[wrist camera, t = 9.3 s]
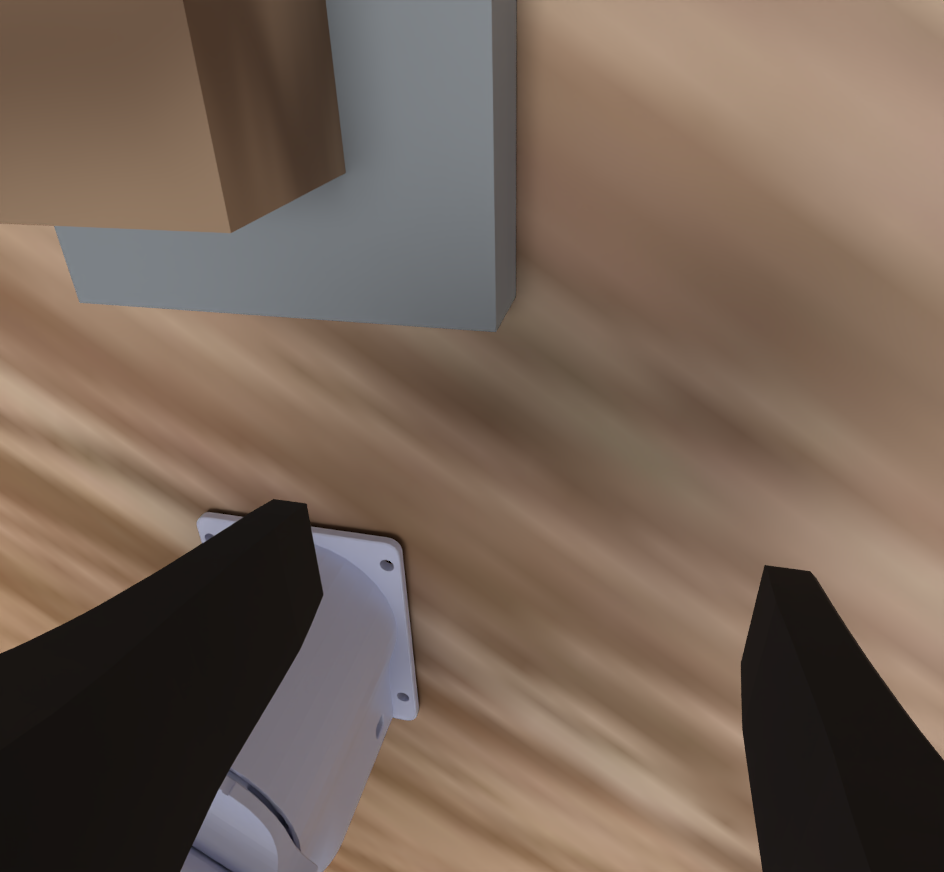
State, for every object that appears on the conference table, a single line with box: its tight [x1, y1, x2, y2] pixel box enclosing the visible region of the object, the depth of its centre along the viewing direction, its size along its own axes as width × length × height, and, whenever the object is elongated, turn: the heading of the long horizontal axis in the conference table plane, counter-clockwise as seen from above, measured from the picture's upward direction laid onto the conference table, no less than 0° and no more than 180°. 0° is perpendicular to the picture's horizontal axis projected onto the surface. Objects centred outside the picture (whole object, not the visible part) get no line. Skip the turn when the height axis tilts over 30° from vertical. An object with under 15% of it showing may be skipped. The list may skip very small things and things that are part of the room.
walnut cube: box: [0, 0, 346, 233], centre depth 13 cm, size 5×5×5 cm
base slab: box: [54, 0, 516, 332], centre depth 17 cm, size 12×12×2 cm
